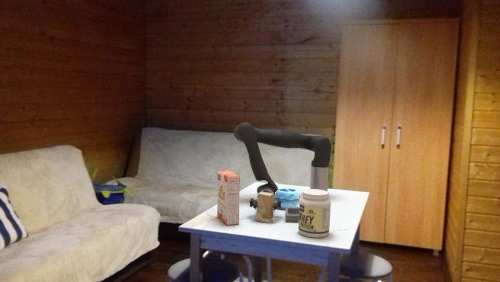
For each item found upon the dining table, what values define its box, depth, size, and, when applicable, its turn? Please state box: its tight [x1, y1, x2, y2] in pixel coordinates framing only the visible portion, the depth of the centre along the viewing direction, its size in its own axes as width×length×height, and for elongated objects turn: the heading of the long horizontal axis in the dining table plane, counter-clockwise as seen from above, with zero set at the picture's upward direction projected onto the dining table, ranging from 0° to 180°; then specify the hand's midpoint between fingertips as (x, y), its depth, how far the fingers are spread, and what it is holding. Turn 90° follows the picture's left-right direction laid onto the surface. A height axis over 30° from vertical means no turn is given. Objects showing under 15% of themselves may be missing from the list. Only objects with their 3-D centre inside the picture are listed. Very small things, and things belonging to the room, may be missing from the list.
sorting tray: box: [284, 207, 299, 224], centre depth 191 cm, size 13×13×3 cm
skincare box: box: [255, 192, 275, 224], centre depth 185 cm, size 6×4×12 cm
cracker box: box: [216, 169, 241, 226], centre depth 184 cm, size 14×6×21 cm, turn 21°
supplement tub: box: [298, 188, 332, 239], centre depth 170 cm, size 12×12×17 cm
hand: (265, 207), depth 183 cm, fingers open, 7 cm apart
